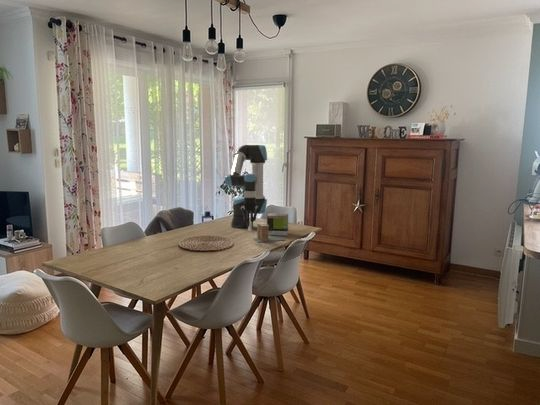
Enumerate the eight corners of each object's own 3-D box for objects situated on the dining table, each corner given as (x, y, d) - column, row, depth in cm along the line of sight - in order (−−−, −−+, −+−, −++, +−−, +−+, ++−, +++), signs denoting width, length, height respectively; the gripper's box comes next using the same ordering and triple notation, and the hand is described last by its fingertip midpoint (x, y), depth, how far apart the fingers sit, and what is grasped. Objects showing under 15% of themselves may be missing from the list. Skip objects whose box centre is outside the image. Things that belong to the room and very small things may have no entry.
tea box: (288, 232, 297) (288, 213, 295) (287, 236, 287) (287, 216, 285) (268, 232, 299) (268, 212, 296) (266, 235, 289) (266, 215, 286)
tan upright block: (257, 238, 277) (257, 223, 275) (263, 237, 279) (263, 222, 277) (261, 241, 269) (261, 225, 267) (268, 240, 271) (268, 225, 269)
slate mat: (253, 239, 277) (253, 238, 277) (279, 237, 284) (279, 236, 284) (258, 242, 267) (258, 242, 267) (285, 240, 275) (285, 239, 275)
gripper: (242, 198, 260) (242, 233, 263) (261, 197, 264) (260, 231, 268) (239, 196, 267) (239, 230, 270) (257, 195, 271) (257, 229, 275)
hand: (249, 231), depth 269 cm, fingers closed
